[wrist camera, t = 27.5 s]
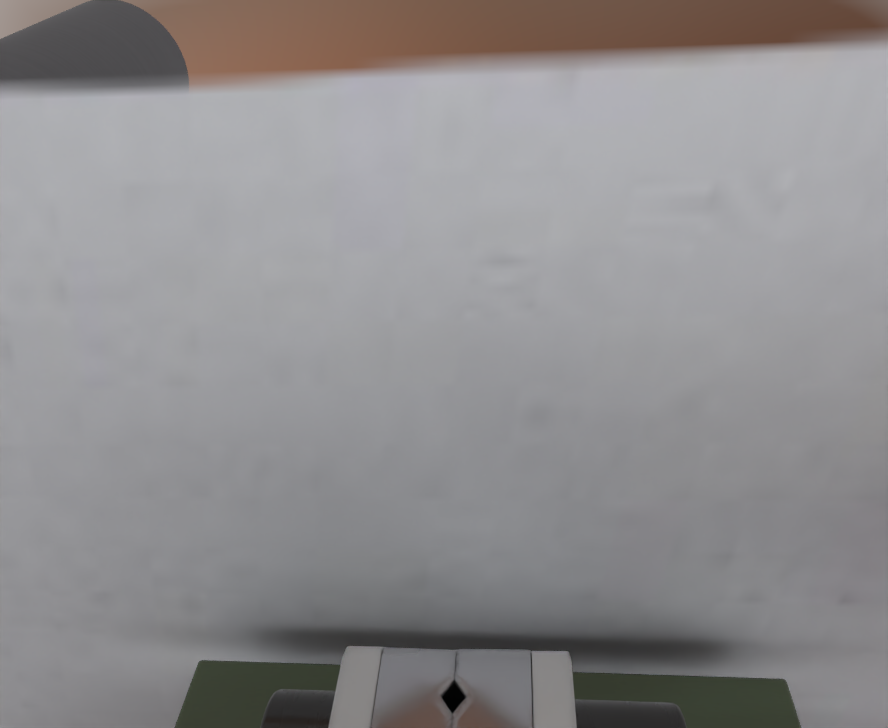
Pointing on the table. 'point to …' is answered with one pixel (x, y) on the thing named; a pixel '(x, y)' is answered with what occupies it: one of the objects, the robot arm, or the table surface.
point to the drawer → (596, 698)
